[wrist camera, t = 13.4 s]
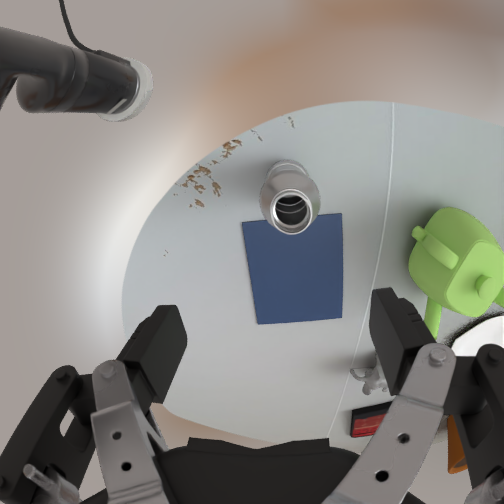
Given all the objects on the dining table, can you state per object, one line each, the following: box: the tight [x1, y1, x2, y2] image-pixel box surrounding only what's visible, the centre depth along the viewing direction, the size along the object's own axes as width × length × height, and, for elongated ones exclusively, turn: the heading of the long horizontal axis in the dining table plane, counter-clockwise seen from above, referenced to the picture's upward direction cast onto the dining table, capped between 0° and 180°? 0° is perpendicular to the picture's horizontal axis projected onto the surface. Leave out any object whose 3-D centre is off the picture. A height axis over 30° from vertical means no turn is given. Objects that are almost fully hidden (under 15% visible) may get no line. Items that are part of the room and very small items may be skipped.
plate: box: [451, 315, 504, 356], centre depth 50 cm, size 23×23×2 cm
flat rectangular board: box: [242, 213, 343, 324], centre depth 48 cm, size 20×16×1 cm
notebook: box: [350, 401, 393, 438], centre depth 61 cm, size 16×2×21 cm
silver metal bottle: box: [259, 160, 321, 235], centre depth 33 cm, size 6×7×20 cm
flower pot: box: [447, 415, 468, 474], centre depth 53 cm, size 24×24×20 cm
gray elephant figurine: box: [350, 354, 389, 395], centre depth 51 cm, size 9×12×8 cm
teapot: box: [409, 207, 504, 340], centre depth 37 cm, size 25×22×16 cm
